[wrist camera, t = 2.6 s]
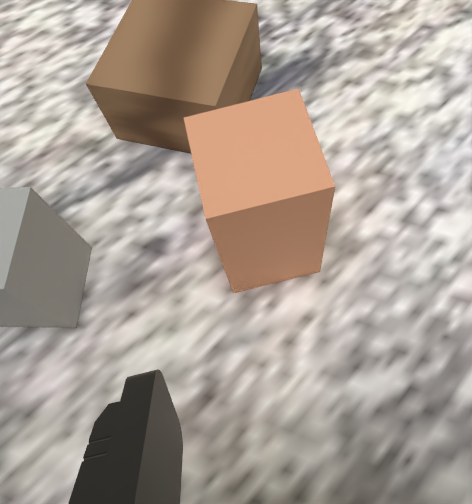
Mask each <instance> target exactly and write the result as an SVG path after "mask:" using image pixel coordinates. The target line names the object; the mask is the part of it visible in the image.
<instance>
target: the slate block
mask: <svg viewBox="0 0 472 504" xmlns="http://www.w3.org/2000/svg"><path fill="white" fill-rule="evenodd" d="M91 249H92V247H91V246H90V245H89V244H88V243H87V242H86V241H85V240H84V239H83V238H82V237H81V236H80V235H79V234H78V233H77V232H76V231H75V230H74V229H73V228H72V227H71V226H70V225H69V224H68V223H67V222H66V221H64V220H63V219H62V218H61V217H60V216H59V215H58V214H57V213H56V212H55V211H54V210H53V209H52V208H51V207H50V206H49V205H48V204H47V203H46V202H45V201H44V200H43V199H42V198H41V197H40V196H39V195H38V194H37V193H36V192H35V191H34V190H33V189H32V188H31V187H18V188H0V327H56V328H77V324H78V318H79V313H80V308H81V302H82V297H83V292H84V287H85V281H86V276H87V271H88V265H89V260H90V255H91Z"/></svg>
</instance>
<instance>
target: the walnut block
mask: <svg viewBox="0 0 472 504" xmlns="http://www.w3.org/2000/svg"><path fill="white" fill-rule="evenodd" d="M261 69H262V66H261V52H260V38H259V25H258V11H257V4H254V3H245V2H237V1H228V0H132V1H131V3H130V5H129V7H128V9H127V10H126V12H125V14H124V16H123V18H122V19H121V21H120V23H119V25H118V27H117V29H116V30H115V32H114V34H113V36H112V38H111V39H110V41H109V43H108V45H107V47H106V48H105V50H104V52H103V54H102V56H101V57H100V59H99V61H98V63H97V65H96V66H95V68H94V70H93V72H92V74H91V76H90V77H89V79H88V81H87V83H86V85H87V87H88V89H89V90H90V92H91V94H92V96H93V97H94V99H95V101H96V103H97V104H98V106H99V108H100V110H101V111H102V113H103V115H104V117H105V118H106V120H107V122H108V124H109V125H110V127H111V129H112V131H113V133H114V134H115V136H116V138H118V139H123V140H128V141H133V142H138V143H143V144H148V145H153V146H158V147H163V148H168V149H173V150H178V151H183V152H188V153H191V149H190V145H189V140H188V136H187V131H186V127H185V122H184V117H188V116H192V115H196V114H200V113H204V112H208V111H212V110H216V109H220V108H224V107H228V106H232V105H236V104H240V103H244V102H248V101H250V98H251V95H252V93H253V90H254V87H255V85H256V82H257V79H258V77H259V74H260V71H261Z"/></svg>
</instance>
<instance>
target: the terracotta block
mask: <svg viewBox="0 0 472 504" xmlns="http://www.w3.org/2000/svg"><path fill="white" fill-rule="evenodd" d="M184 122H185V127H186V131H187V136H188V140H189V145H190V149H191V154H192V159H193V163H194V168H195V172H196V177H197V181H198V186H199V191H200V195H201V200H202V204H203V209H204V213H205V218H206V221H207V224H208V226H209V229H210V232H211V234H212V237H213V240H214V242H215V245H216V248H217V250H218V253H219V256H220V259H221V261H222V264H223V267H224V269H225V272H226V275H227V277H228V280H229V283H230V285H231V288H232V291H233V293H236V292H240V291H244V290H248V289H252V288H256V287H260V286H264V285H268V284H272V283H276V282H280V281H284V280H288V279H292V278H296V277H300V276H304V275H308V274H312V273H316V272H320V267H321V262H322V256H323V251H324V245H325V240H326V234H327V229H328V223H329V218H330V212H331V207H332V201H333V196H334V190H335V185H334V182H333V179H332V177H331V174H330V171H329V169H328V166H327V163H326V161H325V158H324V155H323V153H322V150H321V147H320V144H319V142H318V139H317V136H316V134H315V131H314V128H313V126H312V123H311V120H310V118H309V115H308V112H307V110H306V107H305V104H304V102H303V99H302V96H301V94H300V91H299V89H295V90H291V91H287V92H283V93H279V94H275V95H271V96H267V97H263V98H259V99H255V100H252V101H248V102H244V103H240V104H236V105H232V106H228V107H224V108H220V109H216V110H212V111H208V112H204V113H200V114H196V115H192V116H188V117H184Z"/></svg>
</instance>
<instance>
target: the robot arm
mask: <svg viewBox="0 0 472 504" xmlns="http://www.w3.org/2000/svg"><path fill="white" fill-rule="evenodd" d="M182 454H183V440H182V432H181V427H180V423H179V419H178V416H177V414H176V411H175V408H174V405H173V402H172V400H171V397H170V394H169V391H168V388H167V386H166V383H165V380H164V377H163V375H162V373H161V371H160V370H154V371H150V372H146V373H142V374H138V375H134V376H130V377H127V379H126V382H125V385H124V389H123V393H122V397H121V401H119V402H115V403H111V404H108V406H107V407H106V408H105V410H104V411H103V412H102V413H101V415H100V416H99V417H98V419H97V420H96V421H95V423H94V426H93V429H92V432H91V435H90V438H89V445H87V448H86V451H85V454H84V457H83V458H84V461H83V462H82V463H81V466H80V470H79V473H78V476H77V479H76V482H75V485H74V488H73V491H72V494H71V497H70V501H69V504H180V491H181V473H182Z"/></svg>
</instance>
